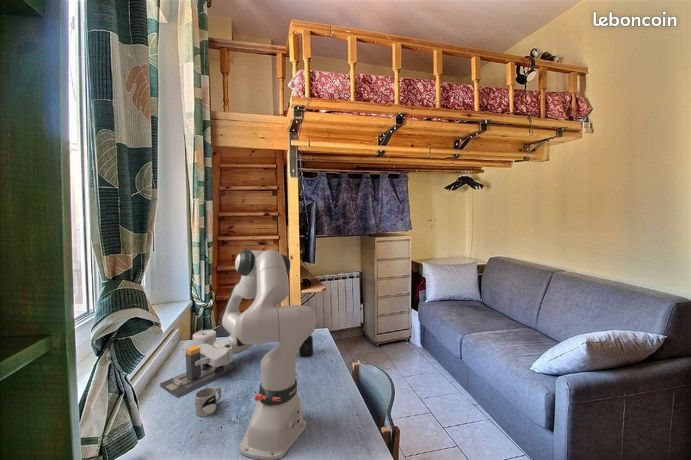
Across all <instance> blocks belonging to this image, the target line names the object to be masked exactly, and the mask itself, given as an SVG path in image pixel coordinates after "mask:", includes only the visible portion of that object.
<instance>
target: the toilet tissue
mask: <svg viewBox="0 0 691 460" xmlns="http://www.w3.org/2000/svg"><path fill="white" fill-rule="evenodd" d="M215 341H217V332H216V330H213V329H204V330H200V331H195V332H194V333H193V334H192V346H194V345H196V346H198V345H201V344H209V345H212V346H213V343H214V342H215Z"/></svg>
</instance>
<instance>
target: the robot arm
mask: <svg viewBox="0 0 691 460" xmlns="http://www.w3.org/2000/svg"><path fill="white" fill-rule="evenodd" d="M234 267H235V272H236V273H237V274H238V275H240V276H241V277H240V280H239V282H236V283H235V284H234V285H233V287H232V290H231V292H230V294H229V295H228V299H227V302H226V304H225V306H224V308H223V310H222V311H221V313H220V314H219V317H218V324H219V325H220V326H221V327H222V328H223V329H225V331H227V333H229V336H228V337H224V338H222V339H219V340H216V341H215V342H214V343H213V346H212V345H209V344H201V345H198V347H200V351H201V352H200V360H195V361H194V365H196V366H197V365H200V364H201V365H202V364H206V363H207V364H209V365H211V366H213V367H219V366H222V365H224V364H226V363H230V364H231V363H232V362H233V361H234V355H236V354H240V353H243V352H244V351H247V350H248V349H249V348H251V347H252V346H253V345H263V344H271V343H272V344H273V343H277V345H276V346H274V347H273V348H272V349H271V350H269V351H268V352H267V353H265V354H264V356H263V358H262V359H261V361H260V384H259V389H258V392H257V393H256V394H255V396H254V401H255V402H256V404H255V407H254V409H253V411H252V416H250V417H251V418H250V420H249V423H248V426H247V429H246V432H245V434H244V435H243V439H242V441H241V442H240V444H239V446H238V447H239V448H238V450H239V453H240V454H241V455H243V456H246V457H247V458H251V459H255V460H278V459H281V458H283V457H284V456H285V455H286V454H287V452H288V451H289V450H290V448H291V447H292V446H293V445H294V444H295V442H296V441H297V440H298V438H299V437H300V436H301V435H302V434H303V433H304V431H305V430H306V429H307V427H308V424H307V421H306V420H304V418H303V417H304V416H303V415H304V414H303V406H302V400H301V398H300V397H299V395H298V392H297V391H298V382H297V381H298V380H297V377H296V368H297V367H296V365H297V356H298V353H299V349H300V347H301V345H302V344H303V342H304V341H305V340H306V339H307V338H308V337H309V336H310V335H311V336H312V335H313V333H314V332H315V329H316V327H317V322H318V321H317V316H316V312H315V311H314V309H312V308H313V307H310V305H309V306H308V305H301V304H292V305H291V304H290V305H282V306H278V305H279V304H281V303H283V301H285V299H287V297H289V294H290V285H289V284H290V282H289V277H288V275H289V274H290V271H291V260H290V258H289V256H287V255H286V254H282V253H280V252H279V251H277V250H275V249H268V250H251V249H242V250H241V251H239V252H238V254H237V256H236V258H235V262H234ZM242 299H245V300H253V299H254V300H253V302H252V303H251V304H250V305H249V307H248V308H246V310H244V311H243V312H241V311H240V308H239V307H240V304H241V302H242Z"/></svg>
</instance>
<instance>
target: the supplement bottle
mask: <svg viewBox="0 0 691 460" xmlns="http://www.w3.org/2000/svg"><path fill="white" fill-rule="evenodd" d="M313 340H314V339H313V336H312V334H311V335H310V336H309V337H308V338H307V339H306V340H305V341H304V342H303V344H302V345H301V347H300V349H299V351H298V353H299V356H300V357H302V358H309V357H312V356H313V355H314V341H313Z"/></svg>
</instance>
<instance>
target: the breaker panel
mask: <svg viewBox="0 0 691 460" xmlns="http://www.w3.org/2000/svg"><path fill="white" fill-rule="evenodd" d="M234 371H237V366H235V365H234V364H232V363H231V362H230V363H226V364H224V365H222V366H219V367H213V366H211V365H209V364H207V363H206V364H201V376H199V377H196V378H194V379H192V380H191V379H190V378H188V377H187V373H186V372H184V373H182V374H178V375H176V376H174V377H172V378H170V379H167V380H165V381H162V382H160V383H159V386H160V388H162V389H163V390H165V391H167V392H168V393H170V394H171V395H173V397H176V398H180V397H182V396H184V395H186V394H188V393H191V392H193V391H194V390H197V389H199V388H201V387H202V386H205V385H208V384H210V383H211V382H214V381H215V380H218V379H221V378H222V377H224V376H226V375H228V374H231V373H232V372H234Z"/></svg>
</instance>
